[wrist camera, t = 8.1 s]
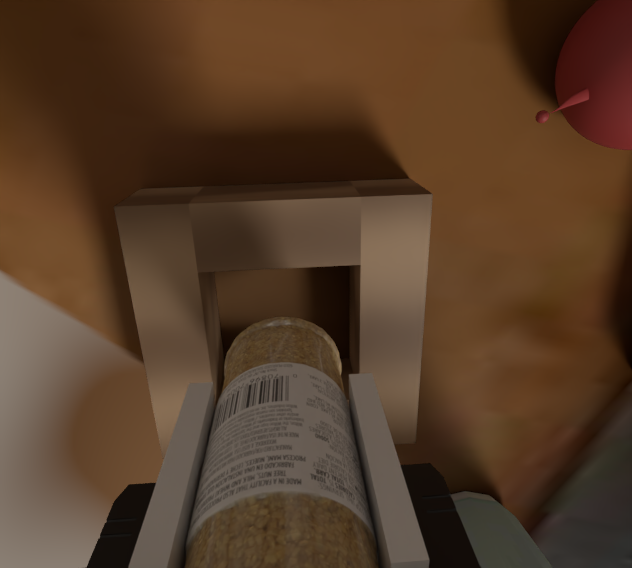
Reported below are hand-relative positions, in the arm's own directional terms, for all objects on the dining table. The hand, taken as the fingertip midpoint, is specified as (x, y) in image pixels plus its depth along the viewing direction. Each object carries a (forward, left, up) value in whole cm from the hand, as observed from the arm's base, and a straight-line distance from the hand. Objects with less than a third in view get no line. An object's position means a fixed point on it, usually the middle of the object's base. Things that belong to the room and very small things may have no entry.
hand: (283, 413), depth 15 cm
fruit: (-10, +13, -9) cm, 19 cm away
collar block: (0, 0, -8) cm, 8 cm away
